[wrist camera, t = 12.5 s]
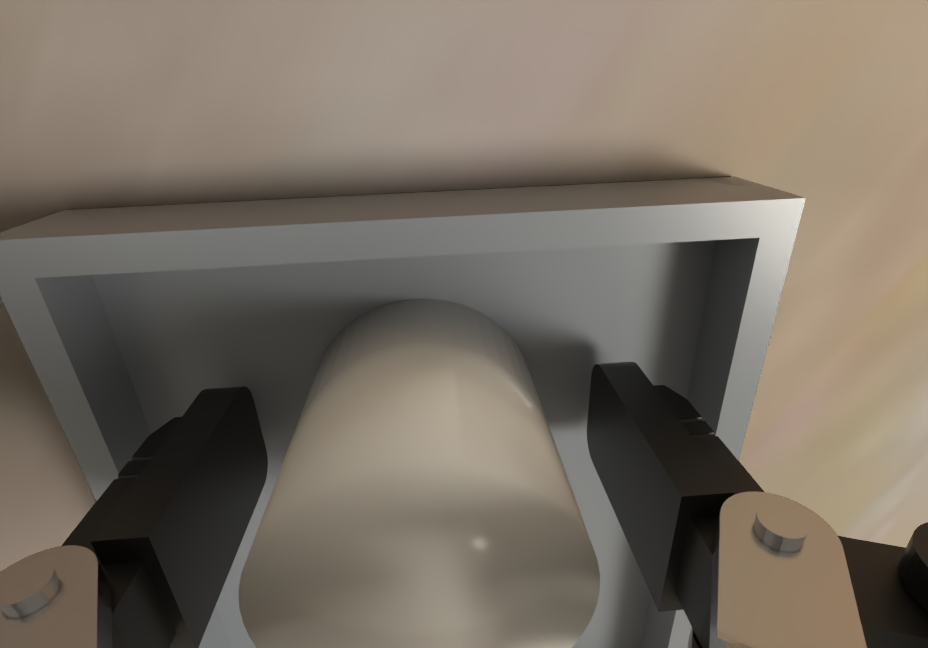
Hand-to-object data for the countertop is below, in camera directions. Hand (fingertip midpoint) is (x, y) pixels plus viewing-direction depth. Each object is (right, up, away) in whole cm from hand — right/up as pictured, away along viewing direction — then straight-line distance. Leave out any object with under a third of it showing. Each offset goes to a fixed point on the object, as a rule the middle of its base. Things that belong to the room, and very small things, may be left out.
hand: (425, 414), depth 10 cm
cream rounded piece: (0, 0, 0) cm, 1 cm away
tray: (0, -3, +3) cm, 4 cm away
